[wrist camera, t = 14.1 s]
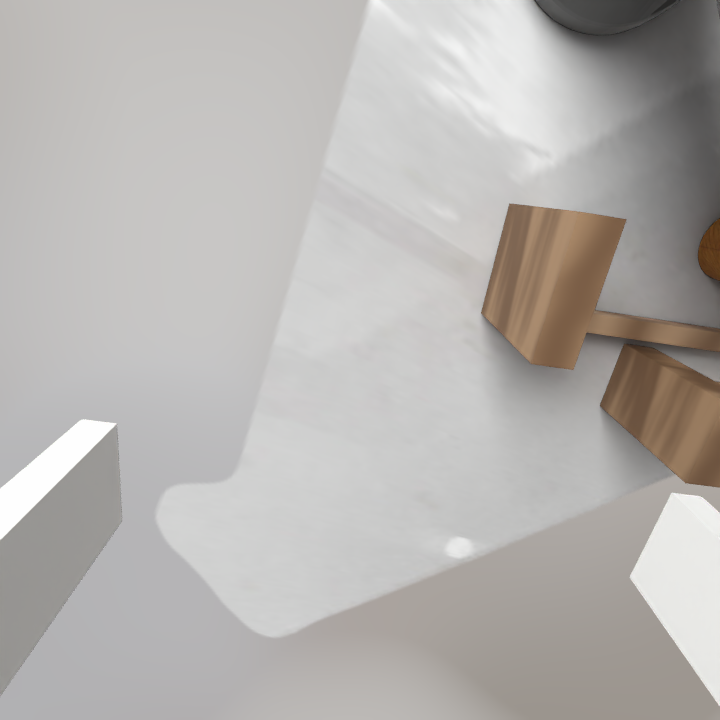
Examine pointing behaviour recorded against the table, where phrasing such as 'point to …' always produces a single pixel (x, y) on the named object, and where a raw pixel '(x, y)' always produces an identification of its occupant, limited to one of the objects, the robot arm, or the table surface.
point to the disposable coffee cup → (710, 251)
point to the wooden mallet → (668, 411)
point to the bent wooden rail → (566, 288)
